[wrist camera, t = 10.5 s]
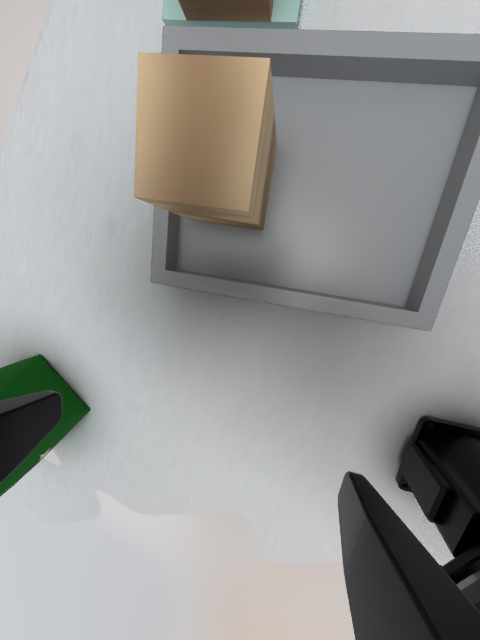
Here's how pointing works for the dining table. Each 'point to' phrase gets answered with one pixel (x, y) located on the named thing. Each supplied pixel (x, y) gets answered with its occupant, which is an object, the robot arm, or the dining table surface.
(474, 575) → the robot arm
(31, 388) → the milk carton
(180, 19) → the teal pad
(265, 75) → the oak box
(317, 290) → the tray
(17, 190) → the dining table surface
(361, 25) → the dining table surface
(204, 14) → the walnut box
